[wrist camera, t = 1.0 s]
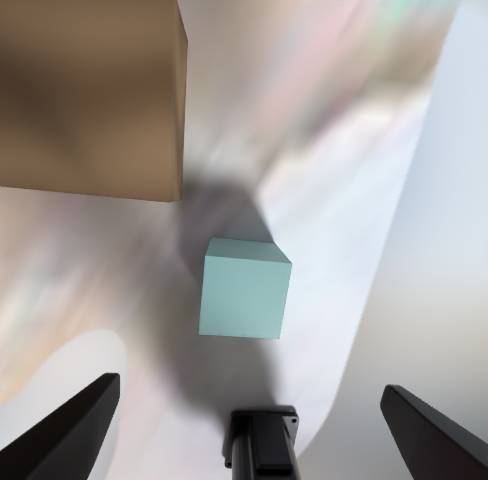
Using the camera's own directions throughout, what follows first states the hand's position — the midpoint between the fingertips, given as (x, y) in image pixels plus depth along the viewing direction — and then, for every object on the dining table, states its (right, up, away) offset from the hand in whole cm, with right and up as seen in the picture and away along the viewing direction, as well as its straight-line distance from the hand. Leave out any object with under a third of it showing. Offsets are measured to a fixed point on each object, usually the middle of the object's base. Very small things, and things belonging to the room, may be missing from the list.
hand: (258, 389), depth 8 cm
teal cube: (-1, +3, +11) cm, 11 cm away
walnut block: (-10, +13, +8) cm, 18 cm away
